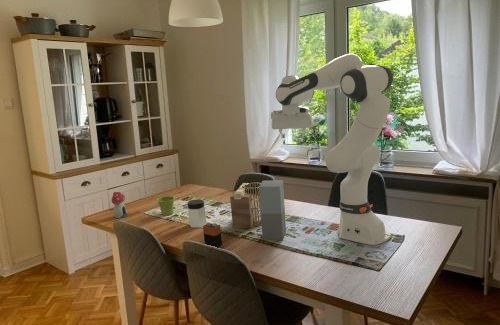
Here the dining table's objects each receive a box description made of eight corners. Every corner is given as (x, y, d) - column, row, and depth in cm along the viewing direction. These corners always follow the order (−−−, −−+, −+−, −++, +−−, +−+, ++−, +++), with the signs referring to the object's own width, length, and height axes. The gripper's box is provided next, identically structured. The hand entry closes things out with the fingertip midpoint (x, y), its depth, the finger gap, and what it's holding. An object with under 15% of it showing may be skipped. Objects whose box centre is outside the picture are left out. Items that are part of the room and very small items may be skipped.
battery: (216, 248, 164) (214, 226, 162) (204, 245, 167) (202, 224, 165) (222, 244, 167) (220, 222, 165) (210, 242, 171) (208, 220, 169)
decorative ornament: (119, 219, 209) (115, 193, 206) (110, 218, 212) (106, 192, 209) (131, 214, 218) (127, 188, 215) (121, 213, 220) (118, 187, 217)
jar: (188, 223, 196) (185, 200, 194) (204, 220, 198) (202, 198, 196) (191, 229, 188) (188, 205, 185) (207, 226, 190) (205, 202, 188)
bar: (243, 187, 196) (243, 183, 195) (249, 187, 195) (248, 183, 195) (234, 199, 178) (233, 194, 178) (240, 199, 177) (240, 193, 177)
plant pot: (174, 216, 209) (172, 200, 207) (157, 217, 209) (155, 202, 207) (177, 210, 218) (176, 195, 216) (161, 211, 218) (159, 196, 216)
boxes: (237, 220, 195) (233, 174, 190) (289, 220, 189) (286, 173, 184) (225, 239, 173) (220, 187, 168) (283, 240, 167) (279, 186, 162)
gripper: (269, 111, 189) (271, 139, 192) (311, 108, 185) (312, 137, 187) (271, 110, 195) (273, 137, 198) (312, 107, 191) (313, 135, 193)
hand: (292, 137), depth 193 cm, fingers open, 8 cm apart
